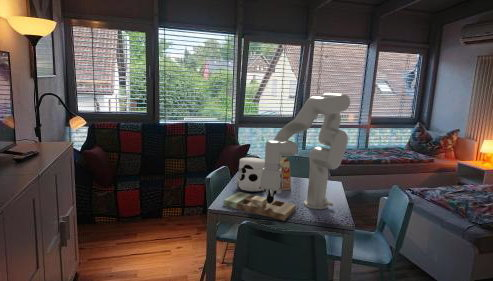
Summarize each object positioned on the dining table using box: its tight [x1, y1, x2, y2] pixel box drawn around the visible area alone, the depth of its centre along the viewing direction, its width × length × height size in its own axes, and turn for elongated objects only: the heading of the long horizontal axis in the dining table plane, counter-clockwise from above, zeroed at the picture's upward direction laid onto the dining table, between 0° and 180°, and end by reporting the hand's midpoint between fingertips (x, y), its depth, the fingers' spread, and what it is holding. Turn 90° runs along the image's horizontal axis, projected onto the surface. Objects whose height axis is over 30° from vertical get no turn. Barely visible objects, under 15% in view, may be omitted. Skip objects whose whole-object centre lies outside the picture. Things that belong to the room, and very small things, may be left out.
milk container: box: [236, 157, 265, 193], centre depth 197 cm, size 17×17×18 cm
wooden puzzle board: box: [223, 191, 297, 221], centre depth 169 cm, size 33×16×3 cm, turn 63°
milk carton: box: [280, 156, 292, 191], centre depth 205 cm, size 9×9×20 cm
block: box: [250, 195, 267, 208], centre depth 164 cm, size 6×6×4 cm
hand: (269, 202), depth 163 cm, fingers closed
